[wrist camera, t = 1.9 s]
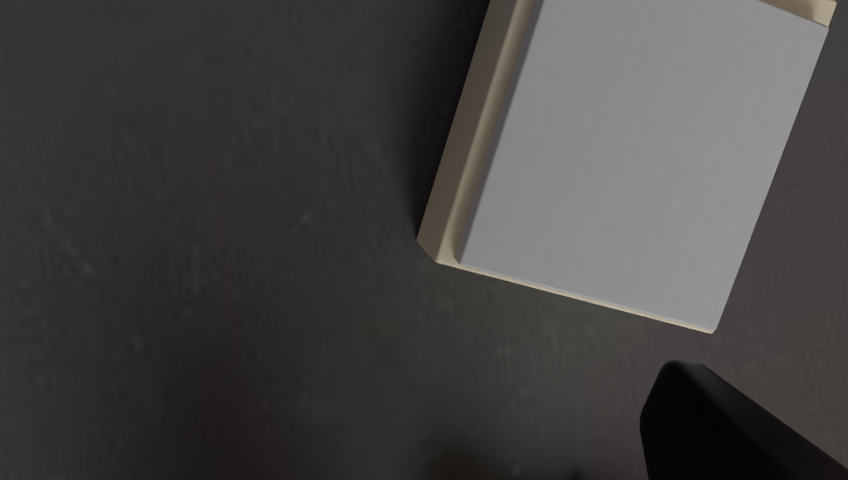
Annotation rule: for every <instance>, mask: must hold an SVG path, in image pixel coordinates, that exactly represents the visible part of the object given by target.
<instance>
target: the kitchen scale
mask: <svg viewBox="0 0 848 480" xmlns="http://www.w3.org/2000/svg"><path fill="white" fill-rule="evenodd" d="M836 4H837V2H836V1H835V0H490V3H489V6H488V9H487V13H486V16H485V19H484V22H483V26H482V29H481V32H480V35H479V39H478V42H477V45H476V48H475V51H474V55H473V58H472V61H471V64H470V68H469V71H468V74H467V77H466V81H465V84H464V87H463V90H462V94H461V97H460V100H459V103H458V107H457V110H456V113H455V116H454V119H453V123H452V126H451V129H450V132H449V136H448V139H447V142H446V145H445V149H444V152H443V155H442V158H441V162H440V165H439V168H438V171H437V175H436V178H435V181H434V184H433V187H432V191H431V194H430V197H429V200H428V204H427V207H426V210H425V213H424V217H423V220H422V223H421V226H420V230H419V233H418V236H417V242H418V243H419V244H420V245H421V246H422V247H423V248H424V250H425V251H426V252H427V253H428V254H429V255H430V256H431V257H432V258H433V259H434V261H435V262H437V263H440V264H444V265H447V266H451V267H455V268H459V269H463V270H467V271H471V272H474V273H478V274H482V275H486V276H490V277H494V278H498V279H501V280H505V281H509V282H513V283H517V284H521V285H525V286H528V287H532V288H536V289H540V290H544V291H548V292H551V293H555V294H559V295H563V296H567V297H571V298H575V299H578V300H582V301H586V302H590V303H594V304H598V305H602V306H605V307H609V308H613V309H617V310H621V311H625V312H629V313H632V314H636V315H640V316H644V317H648V318H652V319H656V320H659V321H663V322H667V323H671V324H675V325H679V326H683V327H686V328H690V329H694V330H698V331H702V332H706V333H713V332H714V331H715V330H716V328H717V326H718V323H719V320H720V318H721V315H722V312H723V310H724V307H725V304H726V302H727V299H728V296H729V294H730V291H731V288H732V286H733V283H734V280H735V278H736V275H737V272H738V270H739V267H740V264H741V262H742V259H743V256H744V254H745V251H746V248H747V246H748V243H749V240H750V238H751V235H752V232H753V230H754V227H755V224H756V222H757V219H758V216H759V214H760V211H761V208H762V206H763V203H764V200H765V198H766V195H767V192H768V190H769V187H770V184H771V182H772V179H773V176H774V174H775V171H776V169H777V166H778V163H779V161H780V158H781V155H782V153H783V150H784V147H785V145H786V142H787V139H788V137H789V134H790V131H791V129H792V126H793V123H794V121H795V118H796V115H797V113H798V110H799V107H800V105H801V102H802V99H803V97H804V94H805V91H806V89H807V86H808V83H809V81H810V78H811V75H812V73H813V70H814V67H815V65H816V62H817V59H818V57H819V54H820V51H821V49H822V46H823V43H824V41H825V38H826V35H827V33H828V30H829V27H828V26H829V23H830V20H831V18H832V15H833V12H834V10H835V7H836Z"/></svg>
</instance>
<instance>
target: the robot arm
mask: <svg viewBox="0 0 848 480" xmlns="http://www.w3.org/2000/svg"><path fill="white" fill-rule="evenodd" d="M640 433H641V439H642V445H643V450H644V456H645V462H646V467H647V473H648V478H649V480H848V469H847V468H845V467H844V466H843V465H841V464H840V463H839V462H837V461H836V460H834V459H833V458H832V457H830V456H829V455H827V454H826V453H825V452H823V451H822V450H821V449H819V448H818V447H816V446H815V445H814V444H812V443H811V442H809V441H808V440H807V439H805V438H804V437H803V436H801V435H800V434H798V433H797V432H796V431H794V430H793V429H791V428H790V427H789V426H787V425H786V424H785V423H783V422H782V421H780V420H779V419H778V418H776V417H775V416H774V415H772V414H771V413H769V412H768V411H767V410H765V409H764V408H762V407H761V406H760V405H758V404H757V403H756V402H754V401H753V400H751V399H750V398H749V397H747V396H746V395H744V394H743V393H742V392H740V391H739V390H738V389H736V388H735V387H733V386H732V385H731V384H729V383H728V382H726V381H725V380H724V379H722V378H721V377H720V376H718V375H717V374H715V373H714V372H713V371H711V370H710V369H708V368H707V367H706V366H704V365H702V364H699V363H695V362H689V361H682V360H675V359H672V360H670V361H668V362H666V363H665V364H664V365H663V367H662V368H661V370H660V372H659V374H658V376H657V379H656V381H655V383H654V385H653V387H652V389H651V392H650V394H649V396H648V398H647V400H646V402H645V404H644V407H643V409H642V412H641V416H640Z"/></svg>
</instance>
